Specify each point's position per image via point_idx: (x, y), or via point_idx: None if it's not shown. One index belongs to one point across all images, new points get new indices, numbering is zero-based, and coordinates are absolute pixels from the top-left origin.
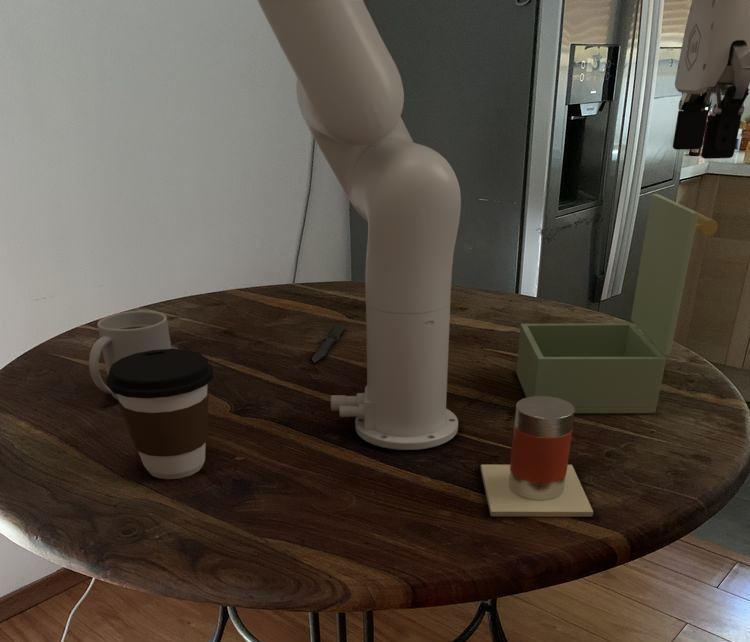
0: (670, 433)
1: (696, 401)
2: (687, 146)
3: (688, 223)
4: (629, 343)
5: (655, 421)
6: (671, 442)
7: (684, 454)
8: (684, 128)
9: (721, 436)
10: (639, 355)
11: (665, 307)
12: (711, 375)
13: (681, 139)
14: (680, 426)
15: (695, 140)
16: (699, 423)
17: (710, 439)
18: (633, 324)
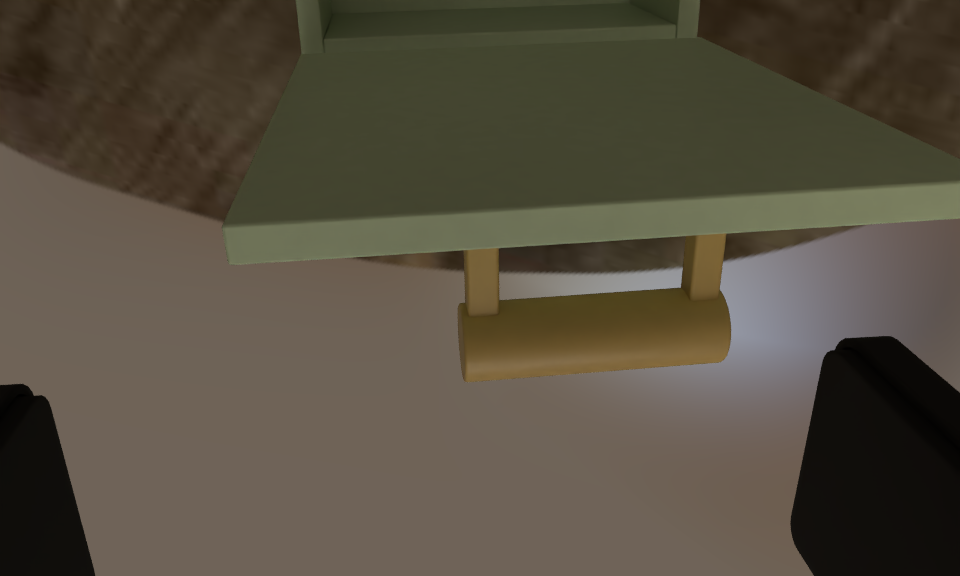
0: (180, 36)
1: None
2: (818, 446)
3: (245, 200)
4: (618, 18)
5: (260, 16)
6: (117, 22)
7: (43, 36)
8: (913, 501)
9: (184, 165)
10: (497, 22)
11: (366, 81)
12: (607, 261)
13: (858, 424)
14: (234, 78)
15: (827, 529)
16: (262, 135)
17: (159, 132)
18: None
